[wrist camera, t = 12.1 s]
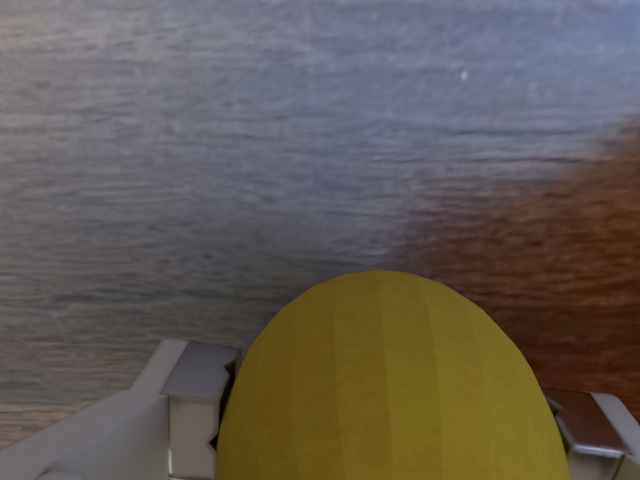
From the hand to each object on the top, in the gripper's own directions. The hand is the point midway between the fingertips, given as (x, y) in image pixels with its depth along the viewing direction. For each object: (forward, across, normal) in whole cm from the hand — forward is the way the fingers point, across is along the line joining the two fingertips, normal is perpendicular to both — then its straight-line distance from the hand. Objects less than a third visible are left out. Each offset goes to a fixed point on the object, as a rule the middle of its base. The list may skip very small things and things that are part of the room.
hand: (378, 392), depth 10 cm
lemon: (+3, 0, 0) cm, 3 cm away
